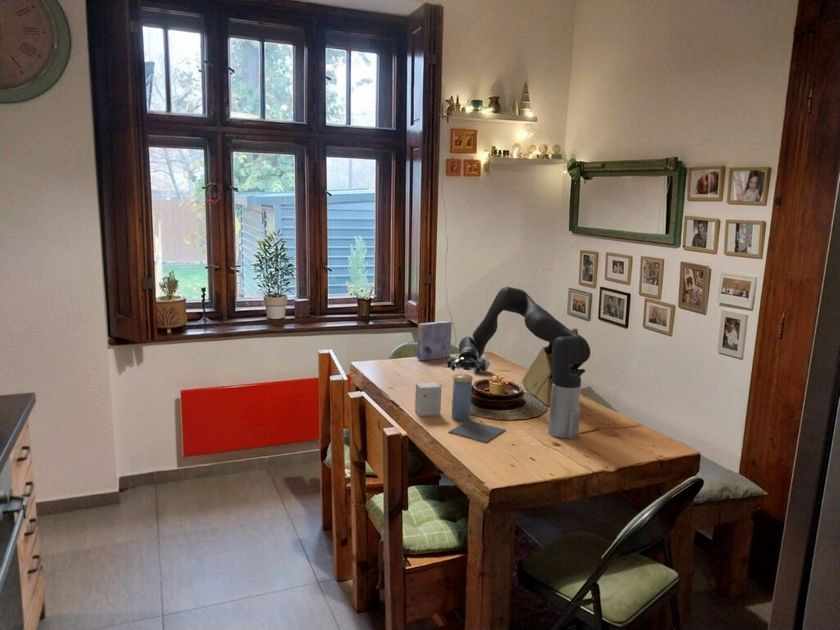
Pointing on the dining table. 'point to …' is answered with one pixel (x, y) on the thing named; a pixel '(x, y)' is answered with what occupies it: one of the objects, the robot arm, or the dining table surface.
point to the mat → (477, 431)
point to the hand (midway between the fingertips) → (465, 369)
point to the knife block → (545, 374)
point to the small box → (428, 399)
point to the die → (485, 365)
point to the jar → (461, 397)
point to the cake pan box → (434, 340)
